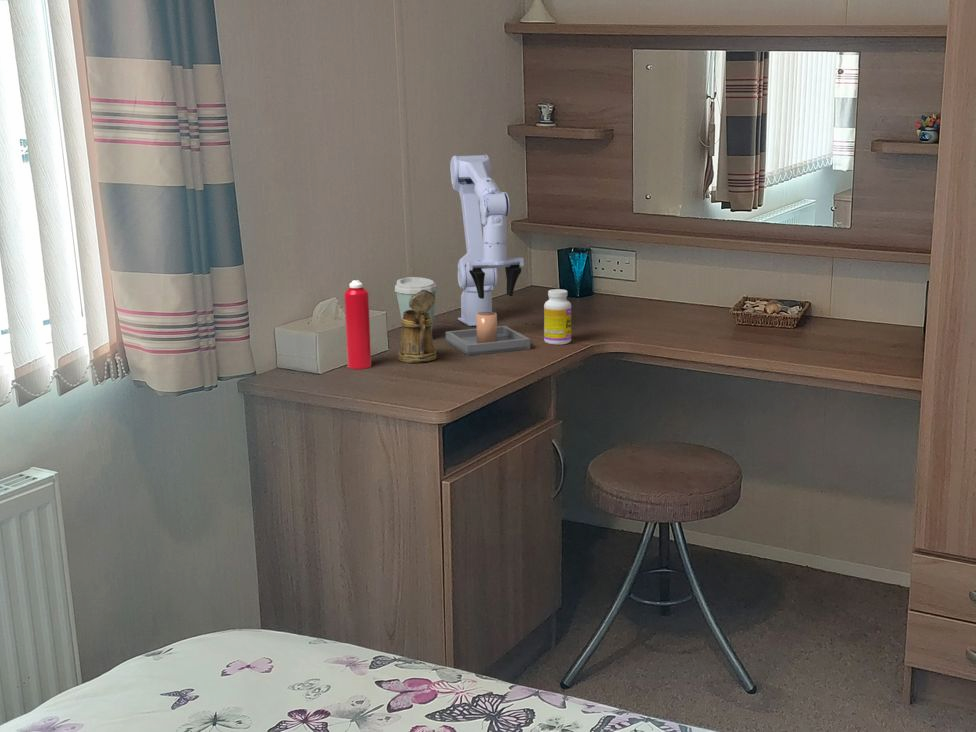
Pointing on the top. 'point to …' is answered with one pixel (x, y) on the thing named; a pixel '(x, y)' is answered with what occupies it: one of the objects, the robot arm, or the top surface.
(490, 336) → the terracotta cup
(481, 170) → the robot arm
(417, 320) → the wooden mug
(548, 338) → the supplement bottle
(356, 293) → the bottle
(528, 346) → the gray tray
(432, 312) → the disposable coffee cup
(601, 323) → the top surface
